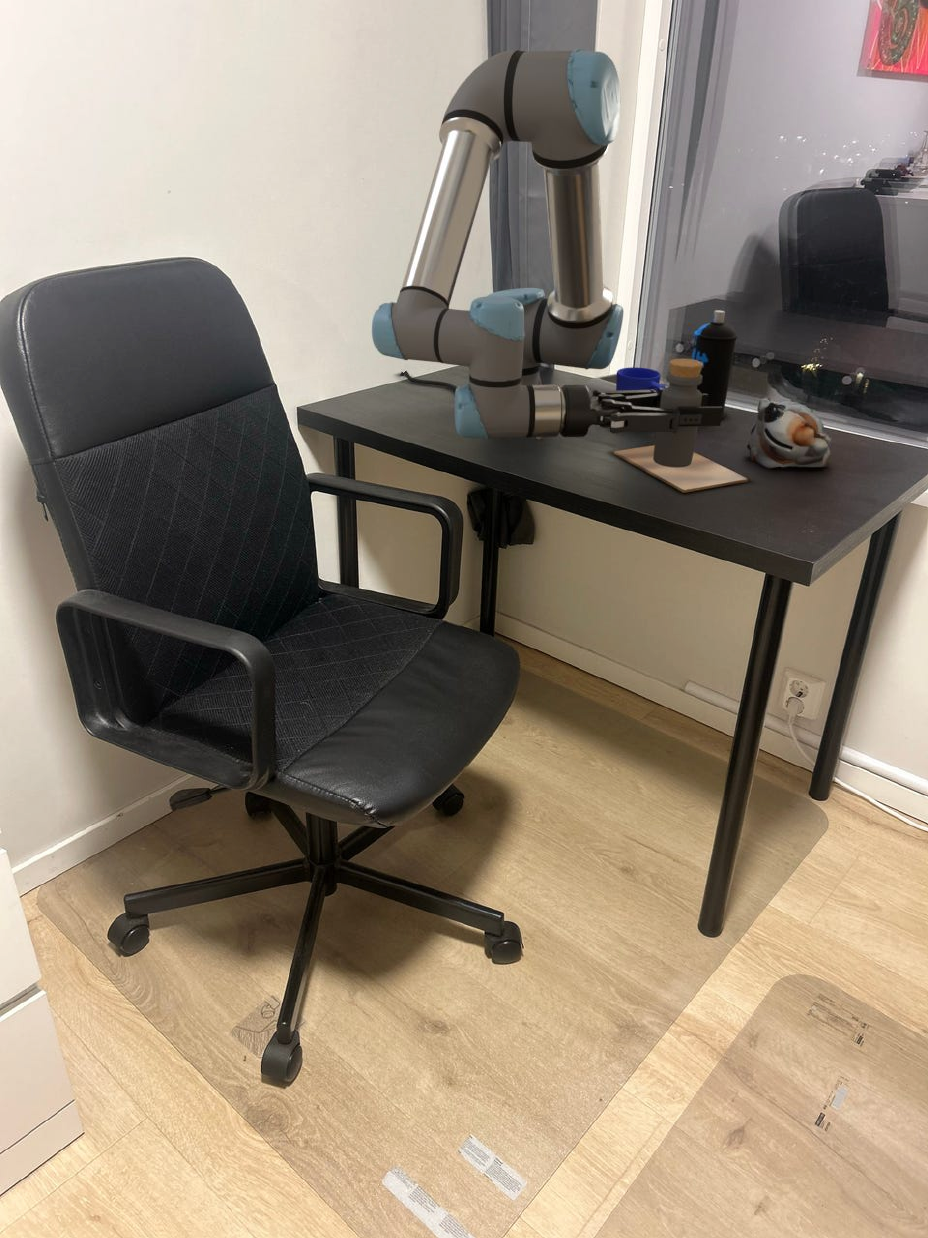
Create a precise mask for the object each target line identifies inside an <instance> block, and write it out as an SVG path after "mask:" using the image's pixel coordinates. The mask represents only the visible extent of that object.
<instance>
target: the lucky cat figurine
mask: <svg viewBox="0 0 928 1238" xmlns="http://www.w3.org/2000/svg"><path fill="white" fill-rule="evenodd" d="M756 411H757V417H756V418H757V421H756V423H755V424H754V426H753V427H752V429H751V432H750V435H749V439H748V443H747V445H746V448H747V449H748V451H749V453H750V460H751V461H752V462H755V463H757V464H759V465H761V466H763V467H764V468H766V469H770V470H771V469H775V468H780V467H781V468H786V467H794V468H795V467H799V468H822V469H824V468H825V467H826V466H827V463H828V460H829V459H830V457H831V450H830V445H831V441H832V437H830V436H829V435H828V433H824V430H825V426H824V423H823V422H822V420H821V418H820V417H819V416H818V415H817V414H816V413H814V411H813V410H812V409H810V408H808V406H806V405H804V404H801V403H799V402H797V401H790V400H782V401H778V402H776V403H775V402H772V401H771V399H770V397H764V398H762V399H760V400H759V401H758V405H757V410H756Z"/></svg>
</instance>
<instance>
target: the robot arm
mask: <svg viewBox="0 0 928 1238" xmlns="http://www.w3.org/2000/svg"><path fill="white" fill-rule="evenodd" d="M621 99H622V97H621V85H620V80H619V75H618V71H617V68H616V65H615V63H614V62H613V60H612V59H611V57H609V55H608V54H606V53H605V52H602V51H596V50H595V51H594V50H593V51H592V50H585V49H583V48H576V49H575V48H574V50H518V49H517V50H513V49H512V50H506V51H505V50H504V51H502V52H498V53H496V54H494V55H492V56H490V57H488V58H487V59H486V60H484V61H483V62H482V63H480V65H478V66H477V67H476V68H474V69H473V70H472V71H471V73H469V75H467V77H466V78H465V79H464V80H463V82H462V83H461V84H460V86H459V87H458V89H457V90H456V92H455V93H454V95H453V96H452V98H451V100H450V102H449V104H448V106H447V108H446V110H445V112H444V115H443V118H442V120H441V124H440V128H439V132H438V137H439V141H440V144H441V149H440V153H439V157H438V160H437V163H436V166H435V170H434V174H433V177H432V181H431V184H430V188H429V191H428V195H427V198H426V201H425V204H424V208H423V212H422V215H421V218H420V222H419V226H418V229H417V232H416V236H415V239H414V243H413V246H412V250H411V254H410V256H409V259H408V263H407V267H406V270H405V273H404V278H403V281H402V284H401V288H400V289H399V290H400V291H399V294H398V296H397V299H396V302H394V301H390V302H384V303H381V304H380V305H379V306H378V308H377V309H376V310H375V312H374V315H373V318H372V323H371V337H372V342H373V346H374V347H375V349H376V350H377V352H379V354H381V355H382V356H385V357H389V358H395V359H398V360H399V359H400V360H404V361H408V360H412V361H420V362H421V361H422V362H430V363H431V362H432V363H440V364H445V365H452V366H459V367H467V368H468V373H469V374H468V383H466V384H465V385H459V386H457V385H455V384H452V383H449V382H445V381H435V380H429V379H428V380H425V379H419V378H414V377H412V376H411V375H410V373H409V372H408V371H407V370H406V371H405V372H404V373H403V372H402V371H401V372H400V374H399V376H401V377H403V376H405V378H406V379H407V380H408V381H409V382H412V383H415V384H422V385H432V386H440V387H446V388H449V389H452V390H454V391H455V392H454V425H455V430H456V433H457V434H458V436H460V437H462V438H469V439H485V440H490V439H517V438H527V439H529V438H535V440H537V441H542V440H543V438H557V437H558V436H559V435H560V436H561V437H562V438H584V437H586V436H587V435H588V432H589V429H590V427H591V426H599V427H600V428H603V429H609V431H608V432H609V433H611V434H620V433H656V432H673V433H677V430H678V427H685V426H697V427H721V425H722V424H721V423H722V419H723V418H722V413H723V407H722V406H707V401H708V394H702V400H701V407H678V409H665V408H660V402H661V395H662V391H663V390H664V389H663V388H658V392H657V393H656V391H655V390H653V389H651V390H623V391H602V390H593V392H592V397H590V392H589V389H588V387H587V386H586V385H584V384H564V385H562V386H561V387H560V386H559V385H558V384H542V379H541V375H540V370H541V369H540V368H541V364H545V365H554V366H561V367H569V368H576V369H585V370H589V369H591V370H592V369H593V370H604V369H607V368H608V367H609V366H610V364H611V362H612V361H613V359H614V356H615V353H616V351H617V348H618V343H619V339H620V335H621V331H622V326H623V321H624V307H623V306H622V305H620V304H619V303H614V304H613V294H612V292H611V290H610V288H609V287H608V286H607V285H605V284H604V273H603V271H604V269H603V240H602V215H601V214H602V212H601V211H602V209H601V182H600V179H601V178H600V160H602V158H603V157H604V156H605V155H606V154H607V152H608V150H609V145H610V144H612V143H613V141H615V140H616V137H617V135H618V131H619V129H620V122H621V113H620V111H621V110H620V109H621V106H622V100H621ZM508 142H517V143H518V142H522V143H530V145H531V152H532V153H531V154H532V159H533V160H534V162H535V163H536V165H538V166H539V167H541V168H542V169H543V175H544V186H545V198H546V210H547V211H546V212H547V222H548V233H549V244H550V246H549V247H550V256H551V266H552V267H551V268H552V279H553V290H552V291H551V293H550V294H549V296H548V298H546V294H545V291H544V289H543V288H537V287H520V288H511V289H504V290H499V291H494V292H491V293H489V294H488V295H486V296H480V297H477V298H474V299H473V300H472V301H471V303H470V307H469V310H466V309H455V308H454V309H453V308H450V304H451V301H452V297H453V294H454V289H455V286H456V284H457V279H458V276H459V273H460V270H461V267H462V263H463V259H464V256H465V253H466V248H467V245H468V242H469V238H470V235H471V231H472V228H473V225H474V222H475V218H476V215H477V211H478V208H479V204H480V201H481V197H482V195H483V194H482V193H483V191H484V187H485V184H486V180H487V178H488V177H487V176H488V174H489V173H488V172H489V169H490V166H491V164H492V163H494V162H495V161H497V160H498V158H499V157H500V155H501V152H502V149H503V145H504V144H506V143H508Z"/></svg>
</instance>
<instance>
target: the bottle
mask: <svg viewBox="0 0 928 1238" xmlns="http://www.w3.org/2000/svg"><path fill="white" fill-rule="evenodd" d="M702 366H703V363H702V362H700V361H697V360H692V358H674V359H671V360H670V361H669V369H670V370H669V372H667V373H666V377H665V381H666V382H667V383H669V384H668V385H669V386H667V387H666V388H665V389H664V390H663V391H662V395H661V402H660V408H665V409H678V407H701V400H702V394H701V392H700V391H699V390H697V385H699V384H701V383H702V375H700V372H701V369H702ZM697 432H698V426H685V427H678V430H677V433H673V432H655V440H654V445H655V447H654V456H653V460H654V462H656V463H657V464H659V465H662V466H666V467H674V468H679V467H686V466H689V465H690V464H691V463H692V458H693V452H695V445H696V438H697V434H698V433H697Z"/></svg>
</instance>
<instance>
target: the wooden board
mask: <svg viewBox="0 0 928 1238" xmlns="http://www.w3.org/2000/svg"><path fill="white" fill-rule="evenodd" d="M654 447H655V444H654V445H653V444H652V445H647V446H640V447H634V448H627V449H619V450H614V451H613V454H614V455H615V456H617V457H619V458H621V459H622V460H624V461H626V462H627V463H630V464H631V465H633V466H634V467H636V468H638V469H639V470H642V471H643V472H645V473H647V474H649V475H651V476H652V477H654V478H656V479H658V480H659V481H662V482H663V483H665V484H667V485H669V486H670V487H672V488H674V489H676V490H677V491H679V492H681V493H683V494H685V493H686V494H687V493H691V492H698V491H702V490H709V489H714V488H720V487H725V486H731V485H737V484H742V483H748V482H749V478H747V477H745V476H743V475H741V474H739V473H737V472H736V471H734V470H731V469H729V468H727V467H725V466H723V465H722V464H719V463H717V462H715V461H713V460H710V459H709V458H708V457H707V458H706V457H704V456H703V455H701V454H698V453H697V452H695V451H694V452H693V458H692V463H691V464H690V465H689V466H686V467H679V468H674V467H666V466H662V465H659V464H657V463H656V462H654V460H653V456H654Z"/></svg>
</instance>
